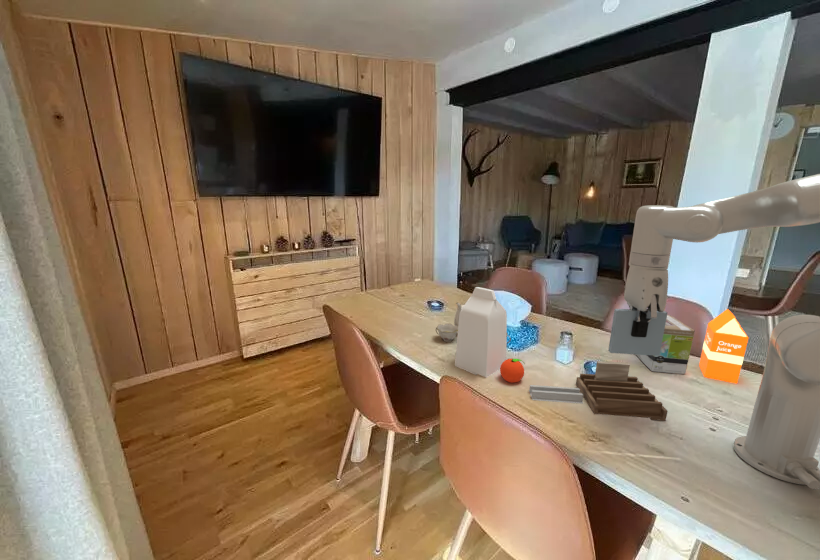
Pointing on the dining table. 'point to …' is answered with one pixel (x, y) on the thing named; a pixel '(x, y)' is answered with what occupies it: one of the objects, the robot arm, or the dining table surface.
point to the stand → (556, 394)
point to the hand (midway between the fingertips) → (636, 334)
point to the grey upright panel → (636, 345)
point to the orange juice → (723, 348)
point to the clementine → (512, 370)
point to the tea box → (672, 348)
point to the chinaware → (451, 328)
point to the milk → (481, 334)
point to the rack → (618, 393)
